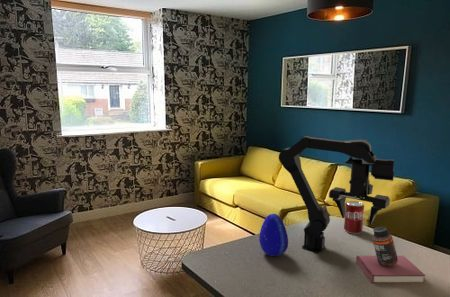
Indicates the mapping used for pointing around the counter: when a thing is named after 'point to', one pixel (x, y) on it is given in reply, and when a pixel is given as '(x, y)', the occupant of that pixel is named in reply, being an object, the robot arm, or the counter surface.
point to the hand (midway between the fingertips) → (356, 221)
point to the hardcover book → (389, 270)
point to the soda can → (353, 217)
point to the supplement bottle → (384, 247)
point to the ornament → (273, 236)
